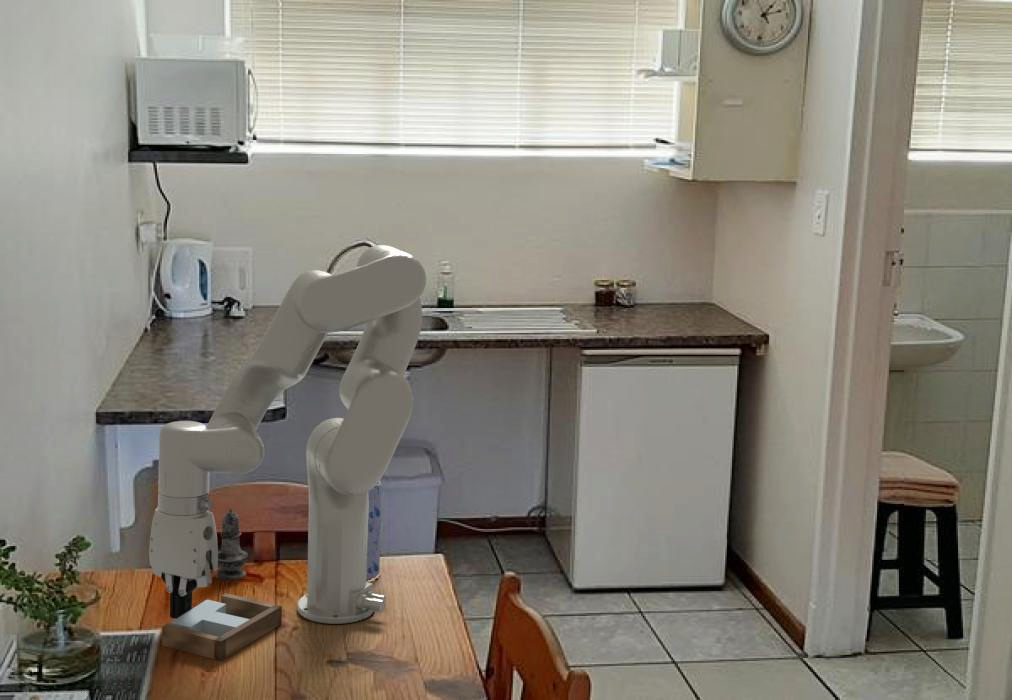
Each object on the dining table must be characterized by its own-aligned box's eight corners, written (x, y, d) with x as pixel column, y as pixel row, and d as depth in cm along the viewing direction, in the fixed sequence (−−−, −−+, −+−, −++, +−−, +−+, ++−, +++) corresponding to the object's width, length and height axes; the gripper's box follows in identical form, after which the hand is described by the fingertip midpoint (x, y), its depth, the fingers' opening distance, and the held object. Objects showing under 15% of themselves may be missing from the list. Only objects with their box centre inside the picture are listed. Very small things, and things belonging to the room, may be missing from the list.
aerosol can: (386, 570, 219) (389, 461, 215) (371, 586, 211) (374, 473, 208) (345, 564, 221) (347, 457, 217) (328, 580, 213) (330, 468, 210)
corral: (162, 645, 184) (162, 626, 184) (225, 610, 198) (225, 593, 198) (220, 660, 180) (220, 641, 180) (281, 624, 194) (281, 606, 193)
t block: (169, 638, 186) (170, 622, 186) (206, 614, 195) (206, 599, 195) (227, 652, 183) (228, 636, 183) (261, 627, 192) (262, 612, 192)
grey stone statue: (250, 569, 217) (250, 503, 215) (244, 581, 211) (244, 514, 209) (216, 568, 217) (216, 502, 214) (210, 580, 211) (209, 513, 209)
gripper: (238, 505, 188) (234, 619, 192) (161, 488, 194) (158, 598, 198) (207, 518, 182) (203, 635, 185) (128, 499, 188) (126, 613, 191)
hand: (180, 616), depth 191 cm, fingers closed
